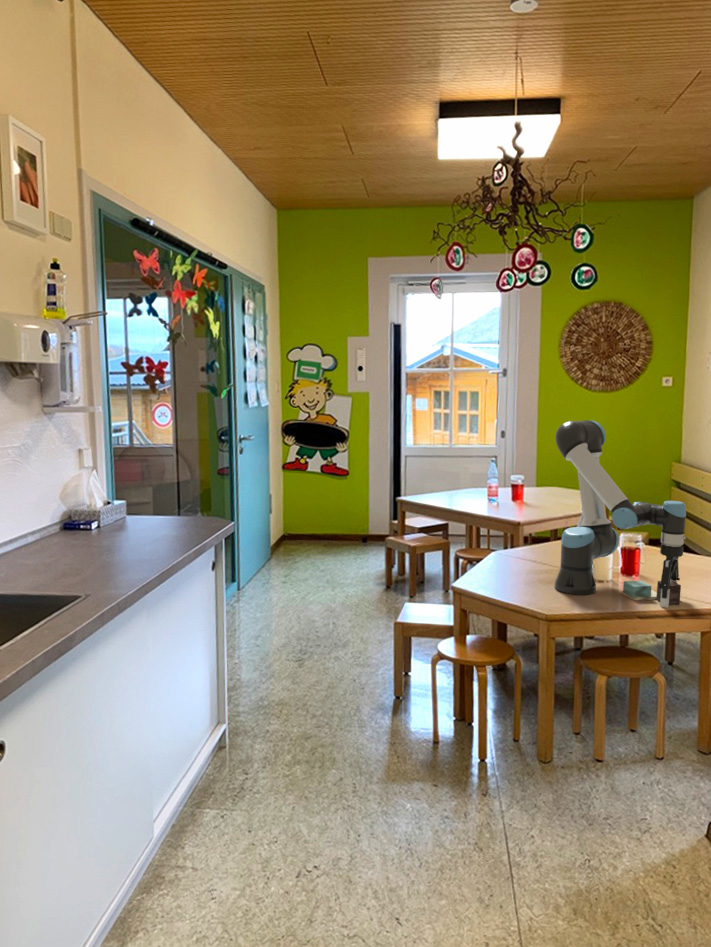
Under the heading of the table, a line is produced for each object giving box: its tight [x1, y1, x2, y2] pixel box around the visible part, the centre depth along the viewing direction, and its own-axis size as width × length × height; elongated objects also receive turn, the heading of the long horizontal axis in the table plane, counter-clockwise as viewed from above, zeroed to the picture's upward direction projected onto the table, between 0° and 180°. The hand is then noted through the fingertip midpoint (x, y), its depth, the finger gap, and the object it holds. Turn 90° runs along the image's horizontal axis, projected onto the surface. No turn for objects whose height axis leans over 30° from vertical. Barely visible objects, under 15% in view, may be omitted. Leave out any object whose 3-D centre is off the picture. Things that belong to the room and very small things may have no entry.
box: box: [655, 580, 682, 606], centre depth 258 cm, size 6×6×7 cm
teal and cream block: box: [621, 580, 657, 601], centre depth 265 cm, size 12×8×5 cm, turn 100°
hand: (668, 602), depth 258 cm, fingers open, 12 cm apart
